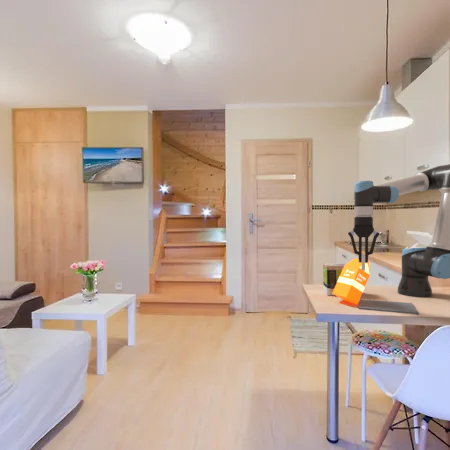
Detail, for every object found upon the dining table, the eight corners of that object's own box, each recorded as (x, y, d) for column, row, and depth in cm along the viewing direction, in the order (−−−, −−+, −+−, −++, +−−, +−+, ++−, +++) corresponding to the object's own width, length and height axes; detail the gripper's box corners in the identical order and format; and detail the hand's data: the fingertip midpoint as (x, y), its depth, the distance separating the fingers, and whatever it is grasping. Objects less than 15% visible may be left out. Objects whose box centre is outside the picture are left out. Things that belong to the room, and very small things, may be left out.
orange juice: (346, 297, 146) (363, 256, 149) (332, 293, 154) (348, 254, 157) (357, 304, 149) (374, 264, 152) (343, 300, 157) (359, 261, 160)
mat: (411, 304, 148) (411, 303, 148) (418, 314, 134) (418, 312, 134) (358, 300, 156) (358, 298, 156) (358, 308, 141) (358, 307, 141)
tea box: (352, 291, 174) (352, 263, 174) (358, 296, 164) (358, 266, 164) (322, 291, 175) (323, 262, 175) (326, 295, 165) (326, 265, 165)
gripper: (379, 216, 148) (379, 269, 149) (347, 216, 153) (347, 268, 154) (380, 216, 141) (380, 272, 142) (347, 216, 146) (347, 270, 147)
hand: (363, 270), depth 148 cm, fingers closed
